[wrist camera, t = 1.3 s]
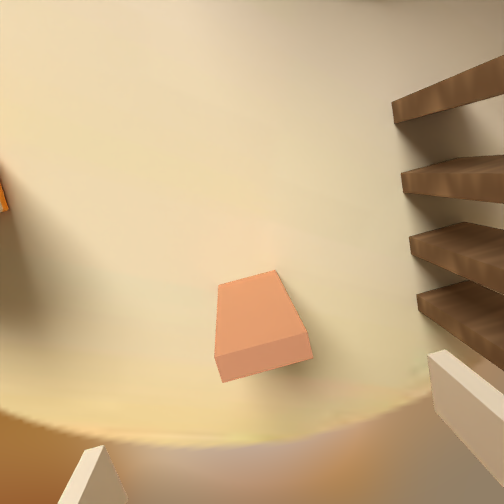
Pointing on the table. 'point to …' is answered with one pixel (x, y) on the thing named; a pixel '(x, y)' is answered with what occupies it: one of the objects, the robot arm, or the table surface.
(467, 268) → the walnut tile
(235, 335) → the terracotta tile
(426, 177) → the walnut tile
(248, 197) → the table surface
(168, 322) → the table surface
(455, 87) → the walnut tile
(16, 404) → the table surface
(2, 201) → the supplement box
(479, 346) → the walnut tile
